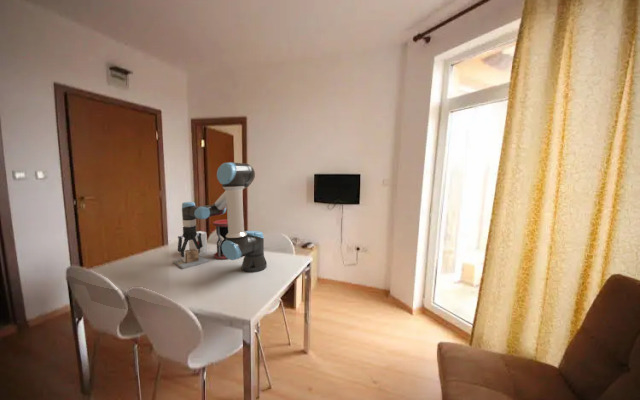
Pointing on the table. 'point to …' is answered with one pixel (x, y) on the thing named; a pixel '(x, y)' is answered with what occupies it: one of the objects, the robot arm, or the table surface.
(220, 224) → the hourglass
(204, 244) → the supplement box
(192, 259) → the brown cardboard crate
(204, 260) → the plate
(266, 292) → the table surface
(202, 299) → the table surface
